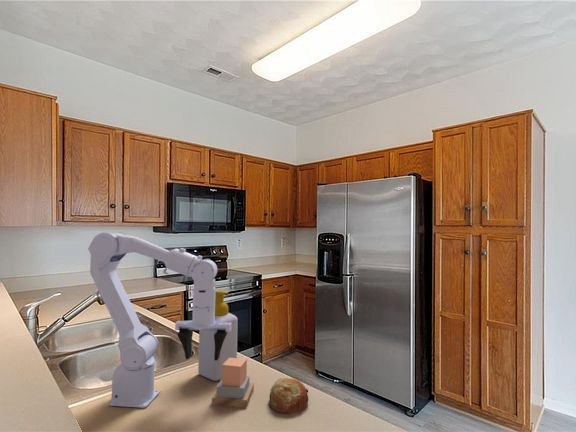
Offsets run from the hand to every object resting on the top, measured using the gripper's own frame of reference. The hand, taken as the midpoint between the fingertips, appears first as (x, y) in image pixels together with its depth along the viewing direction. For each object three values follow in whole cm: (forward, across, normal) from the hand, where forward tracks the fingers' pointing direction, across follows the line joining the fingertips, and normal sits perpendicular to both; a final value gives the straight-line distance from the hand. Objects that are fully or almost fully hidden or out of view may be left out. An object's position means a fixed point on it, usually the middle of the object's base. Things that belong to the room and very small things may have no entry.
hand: (202, 358), depth 86 cm
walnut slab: (+11, +8, +2) cm, 14 cm away
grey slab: (+9, +8, +2) cm, 12 cm away
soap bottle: (+11, 0, +15) cm, 19 cm away
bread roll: (+11, +23, +1) cm, 25 cm away
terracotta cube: (+6, +8, +2) cm, 10 cm away
